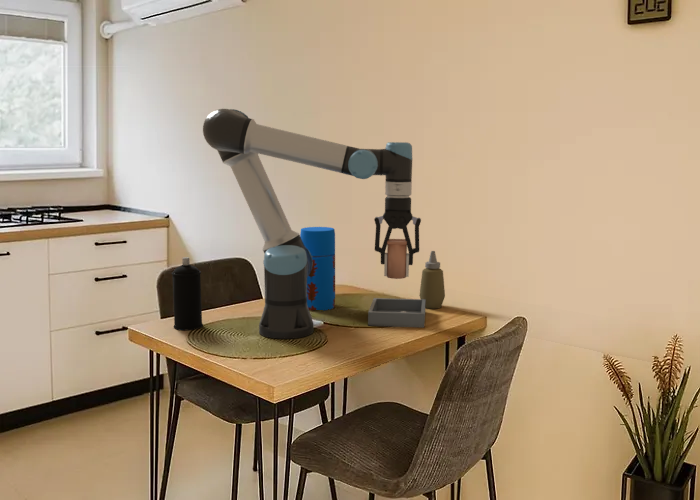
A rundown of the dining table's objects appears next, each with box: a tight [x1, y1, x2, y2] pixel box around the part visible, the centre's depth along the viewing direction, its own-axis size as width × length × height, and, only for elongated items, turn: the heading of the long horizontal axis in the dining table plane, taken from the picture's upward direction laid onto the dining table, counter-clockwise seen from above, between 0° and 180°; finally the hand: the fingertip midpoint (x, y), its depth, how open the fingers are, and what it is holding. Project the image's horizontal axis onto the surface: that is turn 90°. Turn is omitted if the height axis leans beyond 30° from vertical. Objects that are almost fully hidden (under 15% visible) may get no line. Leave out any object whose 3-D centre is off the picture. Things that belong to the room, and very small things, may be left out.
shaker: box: [386, 238, 408, 280], centre depth 210 cm, size 6×6×11 cm
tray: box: [367, 297, 426, 328], centre depth 215 cm, size 16×18×4 cm
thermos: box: [299, 226, 336, 311], centre depth 228 cm, size 11×11×25 cm
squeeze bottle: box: [419, 250, 446, 310], centre depth 228 cm, size 8×8×18 cm
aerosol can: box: [170, 256, 204, 331], centre depth 205 cm, size 8×8×20 cm
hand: (396, 275), depth 211 cm, fingers closed on shaker, 6 cm apart
